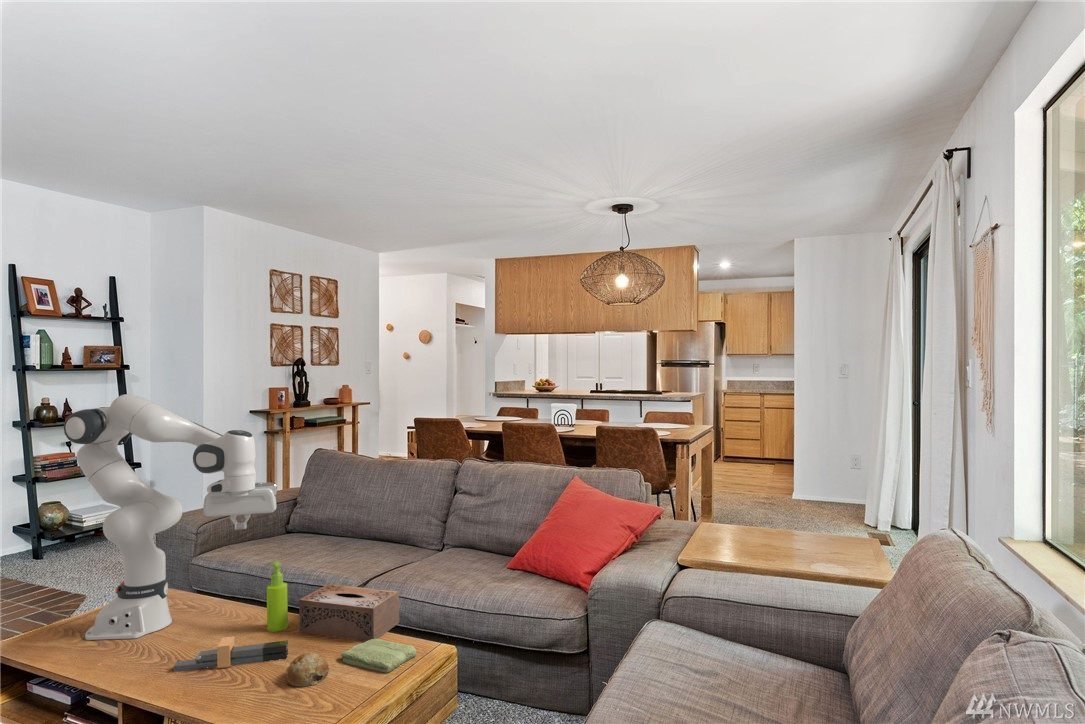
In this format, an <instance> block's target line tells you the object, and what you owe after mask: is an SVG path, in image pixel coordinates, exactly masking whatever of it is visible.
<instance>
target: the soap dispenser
mask: <svg viewBox="0 0 1085 724" xmlns="http://www.w3.org/2000/svg"><path fill="white" fill-rule="evenodd" d="M268 564H269V565H272V566H273V573H271V575H270V584H268V585H266V630H267V631H268V632H271V633H272V632H273V633H274V632H275V633H276V632H281V631H285V630H286V629H287V628H288V627H289V622H288V621H289V620H288V618H289V616H288V615H289V614H288V606H289V603H288V583H287V582H284V573H283V572H282V571H281V567H283V566H282V565H283V564H282V563H281V562H280V561H278V560H273V561H269V562H268Z"/></svg>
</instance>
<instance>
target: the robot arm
mask: <svg viewBox="0 0 1085 724" xmlns="http://www.w3.org/2000/svg"><path fill="white" fill-rule="evenodd" d="M63 433H64V435H65V437H66V438H67V440H69V442H71V443H74V444H78V445H82V446H81V447H80V448H79V449H78V451H77V452H76V461H77V463H78V465H79V467H80V469H81V471H82V473H83V475H84V476H85V478H86V479H87V481H88V482H89V483H90V485H91V486H92V488H94V490H95V491H96V493H97V494H98V495H99V496H100V498H101V499H102V500H103V501H104V502H105V503H107V504H110V505H115V506H117V507H118V509H115V510H114V511H112V512H110V513H108V515H107V516H106V517H105V518H104V521H103V522H102V532H103V535H104V536H105V538H106V539H107V540H108V541H109V542H110V543H113V544H114V545H116V547H117V548H118V550H119V552H120V554H121V558H122V564H123V580H122V581H120V583H119V585H118V586H117V587H116V588H115V594H116V595H117V596H116V597H114V598H113V599H112V600H111V601H110V602H109V603H107V604H106V605H105V606H103V608H101V609H100V611H98V613H97V614H96V617H95V620H94V623H93V625H92V626H91V627H89V629H87V631H86V632H85V636H84V639H85V640H86V641H90V640H91V641H92V640H93V641H94V640H95V641H96V640H97V641H98V640H122V639H123V640H124V639H125V640H128V639H129V640H131V639H138V638H140V637H143V636H145V635H147V634H151V633H154V632H157V631H160V630H162V629H164V628H167V626H170V624H172V623H173V618H172V615H171V613H170V609H169V603H168V597H167V596H168V592H169V583H168V577H167V575H166V574H167V573H166V572H167V570H166V568H167V567H166V566H167V565H166V553H165V551H164V550H162V549H161V548H159V547H157V546H156V544H155V542H154V541H155V540H154V535H155V534H158V533H161V532H163V531H166V530H168V529H170V528H171V527H173V526H174V525H176V524H177V523H178V522H180V520H181V518H182V516H183V506H182V504H181V502H180V501H179V500H178V499H177V498H175V497H173V496H169V495H167V494H163V493H161V492H160V491H158V490H157V489H155V488H153V487H152V486H150V485H149V484H147V482H145V481H144V480H142V478H141V477H139V475H138V474H137V473H136V472H135V471H134V469H133V468H132V467H131V465H129V463H128V462H127V461H126V459H125V458H124V457H123V456H122V454H121V453H120V451H119V450H118V449H119V448H118V446H123V445H125V444H126V443H127V442H128V439H129V438H131V437H132V436H133V435H134V436H136V437H137V438H139V439H141V440H144V441H147V442H151V443H175V442H176V443H177V442H178V443H187V444H191V445H194V446H196V448H195V449H194V451H193V454H192V463H193V466H194V468H195V469H196V470H197V471H198V472H200V473H203V474H214V473H215V474H216V473H220V472H223V479H220V480H218V481H214V482H212V483H210V484H209V485H208V486H207V487H206V491H207V494H206V495H205V497H204V499H203V506H202V507H203V509H202V514H203V516H204V517H205V518H211V517H224V516H225V517H227V516H228V517H229V516H230V520H231V522H232V523H233V525H234V531H237V530H238V531H239V530H246V529H247V527H248V526H247V525H248V522H249V519H250V518H251V515H258V514H260V515H261V514H273V513H274V512H275V511H276V510H277V499H276V495H277V493H278V486H277V485H276V484H275V483H272V482H271V481H269V482H257V472H256V471H257V470H256V468H255V467H256V466H255V465H256V464H255V463H256V458H257V457H256V455H257V454H256V453H257V452H256V451H257V450H256V442H255V441H256V440H255V437H254V435H253V434H252V433H251V432H249V431H248V430H247V431H246V430H242V429H241V430H238V429H232V430H228V431H226V432H225V433H224V434H221V433H219V432H216V431H214V430H212V429H209V428H207V427H205V426H203V425H200V424H198V423H196V422H195V421H194V422H193V421H192V420H189V419H187V418H184V417H182V416H180V415H178V414H176V413H174V412H173V411H170V410H169V409H166V408H164V407H163V406H161V405H158V404H157V403H155V402H153V401H151V400H149V399H146V398H144V397H141V396H138V395H135V394H131V393H127V394H121V395H119V396H117V398H114V400H113V401H112V402H111V404H110V406H101V407H97V408H91V409H90V408H88V409H87V408H86V409H79V410H77V411H75V412H73V413H71V414H69V415H68V416H67V418H66V419H65V421H64V424H63ZM119 507H120V508H119ZM238 516H243V517H244V519H245V520H244V522H238V520H237V517H238Z"/></svg>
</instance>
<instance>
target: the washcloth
mask: <svg viewBox="0 0 1085 724" xmlns="http://www.w3.org/2000/svg"><path fill="white" fill-rule="evenodd" d="M416 655H417V650H416V648H415V647H414V646H413V645H411V644H401V643H398V642H394V641H389V640H388V641H387V640H384V639H380V638H378V639H371V640H368V641H364V642H363V643H362V642H361V643H359V644H356V645H354V646H352V648H351V649H349V650H344V651H342V652H341V653H340V657H341V658H342V663H343V662H345V663H344V664H347V663H348V664H347V665H351V664H352V665H351V666H355V667H359V668H364V669H367V670H371V671H376V672H380V673H385V674H387V673H390V672H391V671H393V670H395V669H397V668H398V667H400V666H401V664H403V663H406V662H408V661H409V660H411V659H413V658H415V657H416Z"/></svg>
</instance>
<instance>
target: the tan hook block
mask: <svg viewBox="0 0 1085 724" xmlns="http://www.w3.org/2000/svg"><path fill="white" fill-rule="evenodd" d="M235 639H236V638H235V636H226V637H221V640H220V642H219V643H218V645H217V648H216V649H217V667H216V668H217V669H221V668H223V669H224V668H229V667H231V665H230V651H231V649H232V648H233V647H236V643H235Z"/></svg>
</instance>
